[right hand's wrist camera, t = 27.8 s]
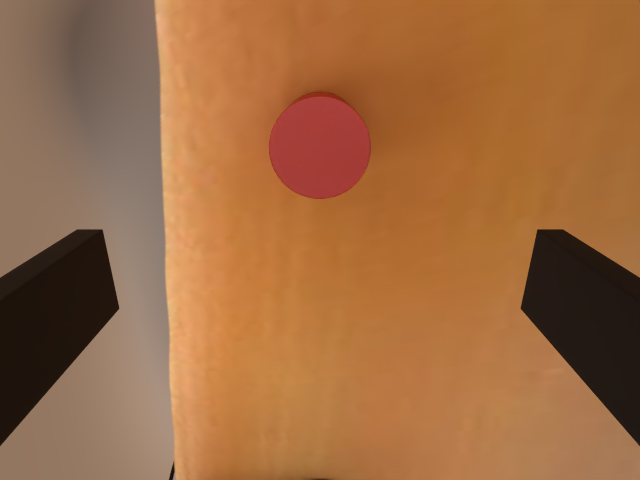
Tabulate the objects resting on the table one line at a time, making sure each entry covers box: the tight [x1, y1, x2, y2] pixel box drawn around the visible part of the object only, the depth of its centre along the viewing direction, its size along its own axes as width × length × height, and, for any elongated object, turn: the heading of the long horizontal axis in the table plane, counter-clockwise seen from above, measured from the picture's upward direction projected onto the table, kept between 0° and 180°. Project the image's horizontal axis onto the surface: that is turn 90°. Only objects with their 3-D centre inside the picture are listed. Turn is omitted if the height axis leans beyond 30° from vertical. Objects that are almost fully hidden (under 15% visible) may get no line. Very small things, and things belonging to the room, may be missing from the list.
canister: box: [269, 92, 371, 199], centre depth 39 cm, size 9×9×10 cm
